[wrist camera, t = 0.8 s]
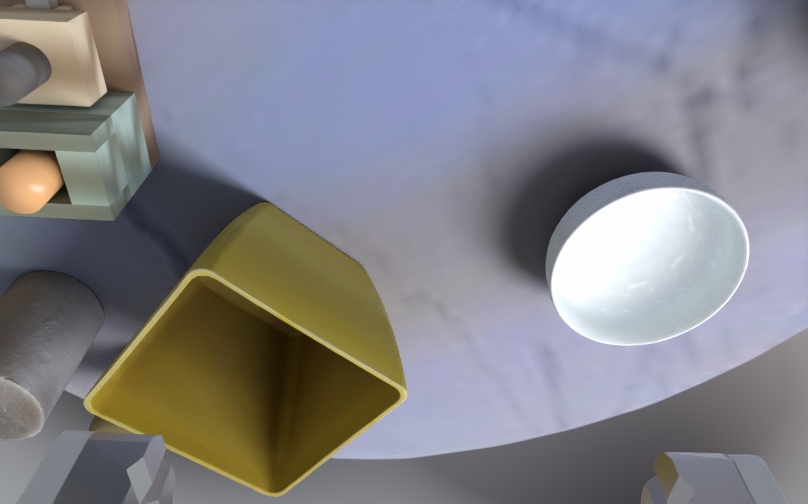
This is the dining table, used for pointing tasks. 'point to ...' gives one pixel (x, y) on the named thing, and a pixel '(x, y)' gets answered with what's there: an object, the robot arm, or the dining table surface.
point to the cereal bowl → (645, 258)
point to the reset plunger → (29, 180)
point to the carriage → (48, 57)
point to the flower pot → (259, 357)
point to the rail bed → (90, 125)
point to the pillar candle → (41, 346)
